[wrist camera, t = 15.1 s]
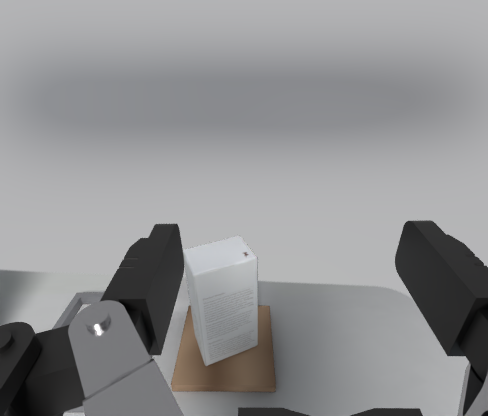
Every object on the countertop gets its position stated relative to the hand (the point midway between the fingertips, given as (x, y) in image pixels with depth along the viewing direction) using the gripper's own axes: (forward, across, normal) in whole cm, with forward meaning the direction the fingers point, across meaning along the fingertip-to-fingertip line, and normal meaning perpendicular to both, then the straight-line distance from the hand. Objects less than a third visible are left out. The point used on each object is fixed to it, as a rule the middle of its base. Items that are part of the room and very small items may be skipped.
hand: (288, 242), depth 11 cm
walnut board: (+13, +4, +24) cm, 27 cm away
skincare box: (+13, +5, +23) cm, 26 cm away
